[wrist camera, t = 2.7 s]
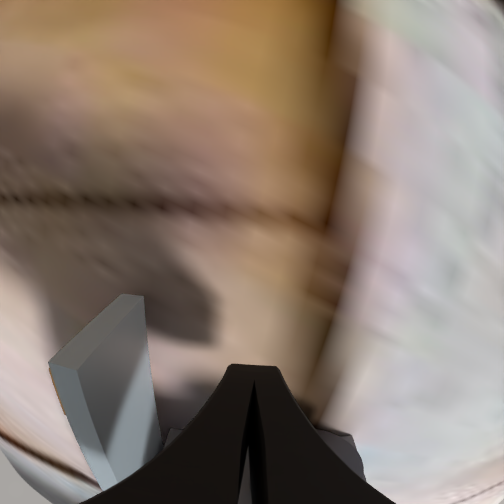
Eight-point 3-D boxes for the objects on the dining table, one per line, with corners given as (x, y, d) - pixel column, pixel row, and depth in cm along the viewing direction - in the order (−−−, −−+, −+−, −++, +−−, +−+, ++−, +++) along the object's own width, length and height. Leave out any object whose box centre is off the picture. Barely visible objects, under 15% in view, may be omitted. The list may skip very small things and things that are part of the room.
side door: (185, 531, 13) (176, 577, 9) (166, 528, 13) (155, 573, 9) (143, 296, 9) (76, 370, 5) (106, 291, 9) (29, 356, 5)
